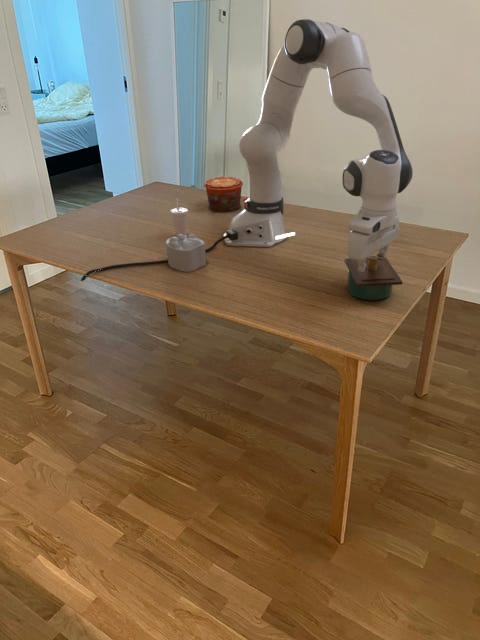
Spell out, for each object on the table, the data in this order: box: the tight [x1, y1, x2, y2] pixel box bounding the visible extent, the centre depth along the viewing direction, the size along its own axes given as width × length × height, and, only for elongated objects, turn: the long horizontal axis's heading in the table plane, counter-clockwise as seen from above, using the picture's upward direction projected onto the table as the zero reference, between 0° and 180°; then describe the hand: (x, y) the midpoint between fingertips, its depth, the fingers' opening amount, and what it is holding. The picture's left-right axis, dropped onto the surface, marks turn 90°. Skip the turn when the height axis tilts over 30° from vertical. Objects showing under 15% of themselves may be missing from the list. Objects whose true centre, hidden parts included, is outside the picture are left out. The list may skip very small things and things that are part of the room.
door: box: [343, 255, 403, 286], centre depth 136 cm, size 12×16×4 cm
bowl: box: [346, 270, 393, 301], centre depth 139 cm, size 12×12×6 cm
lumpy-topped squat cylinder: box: [165, 233, 207, 273], centre depth 159 cm, size 10×13×9 cm
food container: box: [203, 176, 244, 213], centre depth 204 cm, size 16×16×11 cm
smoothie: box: [169, 198, 189, 236], centre depth 178 cm, size 6×6×14 cm
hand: (371, 264), depth 136 cm, fingers open, 8 cm apart
